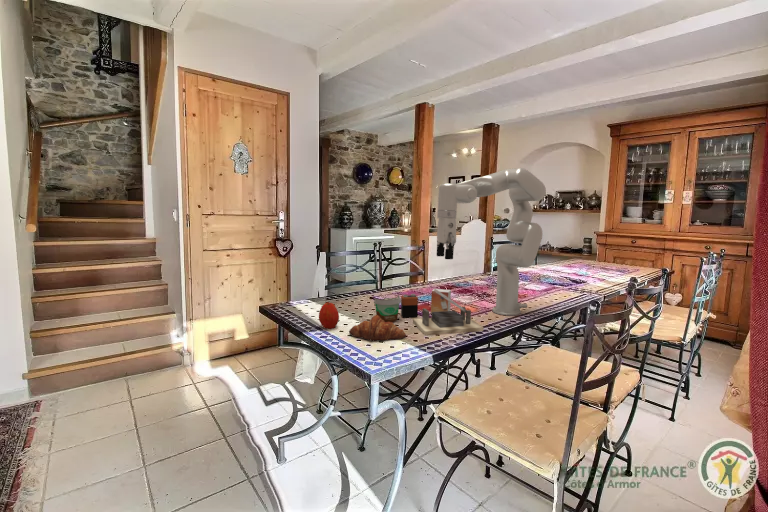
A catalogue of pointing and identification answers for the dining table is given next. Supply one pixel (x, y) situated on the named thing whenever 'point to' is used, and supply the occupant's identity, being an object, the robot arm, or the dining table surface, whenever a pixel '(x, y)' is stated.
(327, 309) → the red egg
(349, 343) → the dining table surface
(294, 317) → the dining table surface
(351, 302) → the dining table surface
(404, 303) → the battery
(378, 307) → the food container
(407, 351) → the dining table surface
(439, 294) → the clamp bar
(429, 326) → the heatsink board
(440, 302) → the small box
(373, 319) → the pastry
